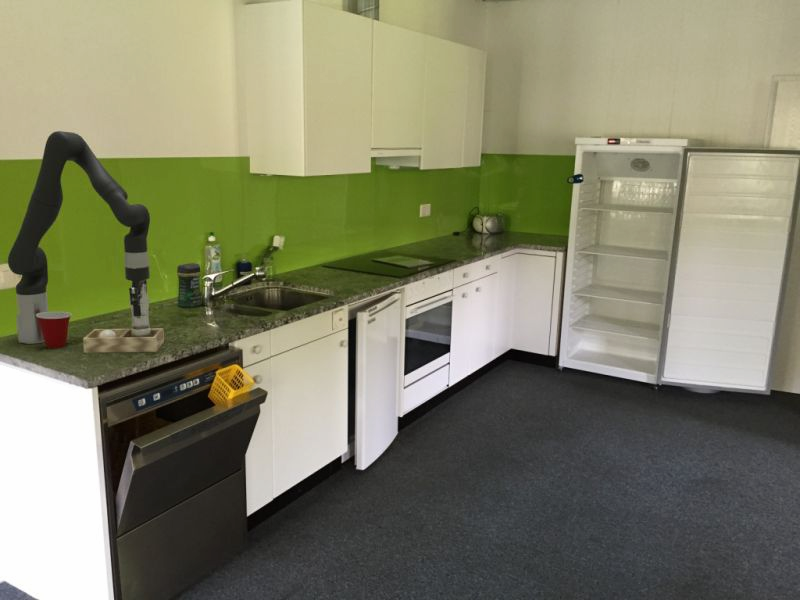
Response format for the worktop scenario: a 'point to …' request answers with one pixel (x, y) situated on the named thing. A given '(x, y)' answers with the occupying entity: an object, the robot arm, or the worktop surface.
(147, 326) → the plastic bottle
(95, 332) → the crate
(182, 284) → the coffee jar
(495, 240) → the worktop surface
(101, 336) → the white ball
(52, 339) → the plastic cup
